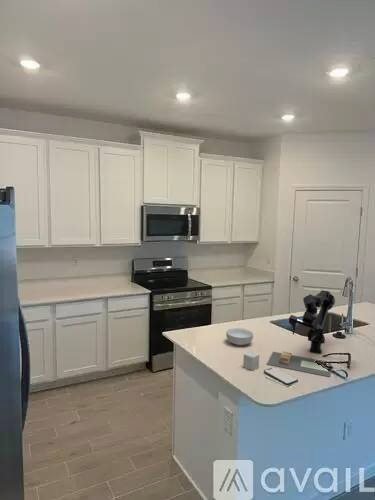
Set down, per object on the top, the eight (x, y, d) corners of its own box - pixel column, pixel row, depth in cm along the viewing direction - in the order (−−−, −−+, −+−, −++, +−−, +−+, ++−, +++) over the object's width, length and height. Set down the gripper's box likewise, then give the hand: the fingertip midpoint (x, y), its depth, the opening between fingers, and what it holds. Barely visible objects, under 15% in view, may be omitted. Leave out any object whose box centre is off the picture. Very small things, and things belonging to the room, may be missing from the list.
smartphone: (299, 382, 168) (274, 369, 182) (299, 379, 168) (274, 366, 181) (286, 387, 164) (262, 373, 177) (287, 384, 163) (262, 370, 176)
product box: (259, 367, 183) (259, 354, 182) (252, 371, 178) (253, 357, 178) (249, 363, 187) (250, 351, 186) (242, 367, 183) (243, 353, 182)
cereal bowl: (224, 346, 211) (224, 335, 210) (227, 337, 227) (227, 327, 226) (252, 349, 207) (252, 338, 206) (253, 340, 223) (253, 329, 222)
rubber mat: (272, 352, 203) (272, 351, 203) (331, 362, 190) (331, 361, 190) (266, 364, 186) (266, 363, 186) (330, 377, 173) (330, 376, 173)
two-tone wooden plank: (282, 355, 198) (282, 351, 197) (291, 357, 196) (291, 352, 195) (279, 363, 187) (279, 358, 187) (288, 365, 185) (288, 360, 185)
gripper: (294, 301, 191) (285, 323, 183) (329, 312, 183) (321, 336, 175) (293, 311, 199) (284, 333, 191) (326, 323, 191) (318, 347, 183)
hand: (301, 337), depth 185 cm, fingers open, 9 cm apart
